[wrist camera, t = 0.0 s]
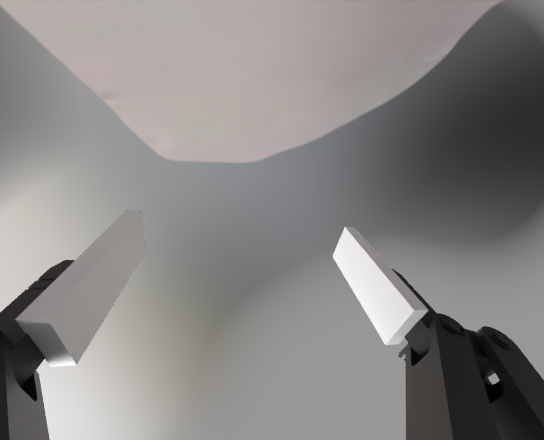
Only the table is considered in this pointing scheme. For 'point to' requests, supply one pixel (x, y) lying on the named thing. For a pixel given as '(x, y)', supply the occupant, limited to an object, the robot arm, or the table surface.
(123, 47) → the table surface
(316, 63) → the table surface
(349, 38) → the table surface
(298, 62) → the table surface
